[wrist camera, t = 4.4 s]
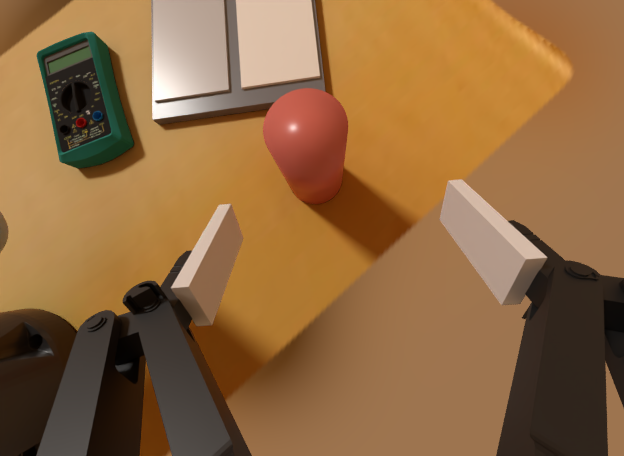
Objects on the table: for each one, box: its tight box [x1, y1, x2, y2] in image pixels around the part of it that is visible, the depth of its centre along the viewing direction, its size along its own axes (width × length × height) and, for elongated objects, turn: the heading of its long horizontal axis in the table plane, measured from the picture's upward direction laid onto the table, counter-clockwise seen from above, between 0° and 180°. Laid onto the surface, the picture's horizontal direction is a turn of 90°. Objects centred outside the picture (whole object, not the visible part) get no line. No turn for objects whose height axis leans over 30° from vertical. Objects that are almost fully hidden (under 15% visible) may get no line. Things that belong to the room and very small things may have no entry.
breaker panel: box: [152, 0, 325, 124], centre depth 28 cm, size 19×19×3 cm
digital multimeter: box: [37, 32, 134, 168], centre depth 28 cm, size 7×15×3 cm, turn 20°
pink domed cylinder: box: [263, 88, 348, 204], centre depth 21 cm, size 6×6×10 cm
